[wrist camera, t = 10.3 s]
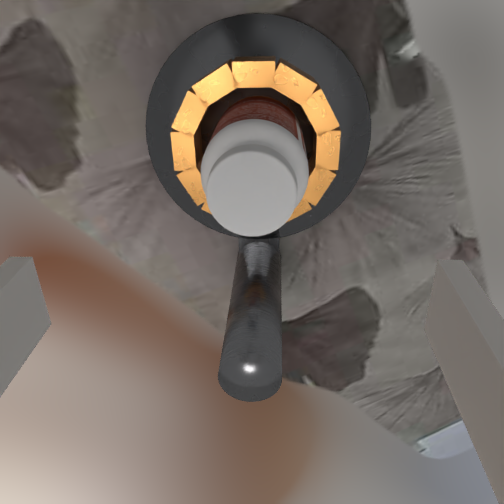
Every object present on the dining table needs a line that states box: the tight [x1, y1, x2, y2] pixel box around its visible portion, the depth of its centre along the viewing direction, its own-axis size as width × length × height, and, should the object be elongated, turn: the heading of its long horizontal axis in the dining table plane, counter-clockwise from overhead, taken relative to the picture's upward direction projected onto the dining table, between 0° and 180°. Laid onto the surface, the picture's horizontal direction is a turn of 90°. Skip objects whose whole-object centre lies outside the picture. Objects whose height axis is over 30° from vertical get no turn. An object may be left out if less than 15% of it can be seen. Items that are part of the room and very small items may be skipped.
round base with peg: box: [146, 13, 371, 402], centre depth 28 cm, size 20×16×14 cm
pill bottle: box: [201, 96, 309, 236], centre depth 28 cm, size 6×6×11 cm
